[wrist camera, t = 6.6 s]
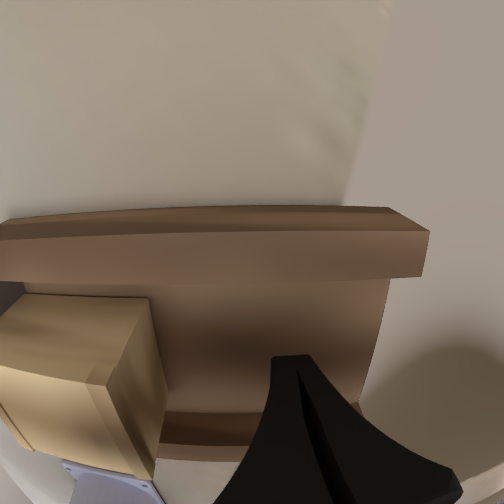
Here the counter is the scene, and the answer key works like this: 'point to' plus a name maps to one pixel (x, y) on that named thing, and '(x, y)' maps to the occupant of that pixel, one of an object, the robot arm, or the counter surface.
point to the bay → (227, 297)
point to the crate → (84, 380)
